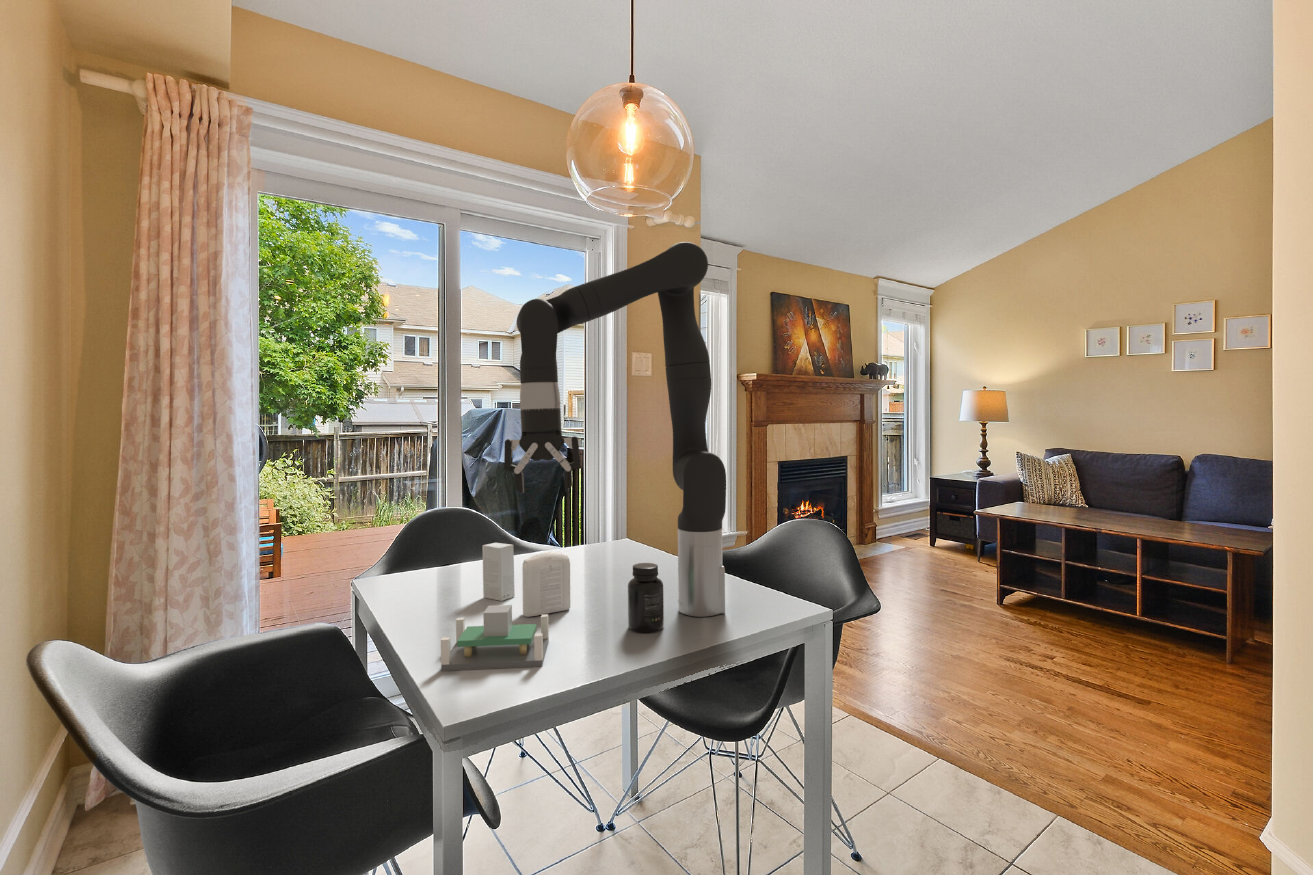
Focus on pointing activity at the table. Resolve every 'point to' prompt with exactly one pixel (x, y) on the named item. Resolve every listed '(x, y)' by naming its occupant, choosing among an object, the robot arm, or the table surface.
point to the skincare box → (498, 571)
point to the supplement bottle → (645, 599)
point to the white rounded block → (546, 584)
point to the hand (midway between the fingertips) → (544, 491)
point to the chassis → (494, 652)
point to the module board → (493, 641)
